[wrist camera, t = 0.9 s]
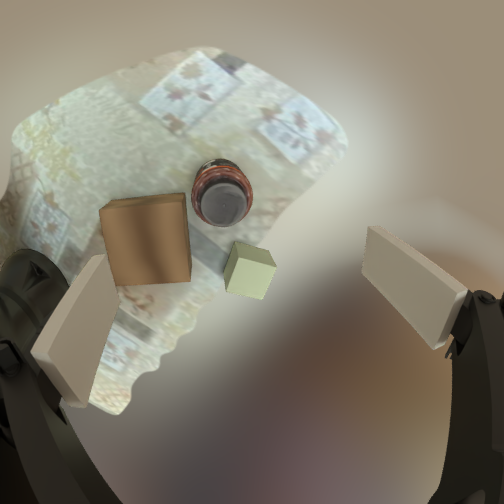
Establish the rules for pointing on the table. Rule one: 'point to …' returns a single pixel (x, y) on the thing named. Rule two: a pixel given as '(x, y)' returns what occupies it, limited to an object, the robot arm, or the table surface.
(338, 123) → the table surface
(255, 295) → the sage block
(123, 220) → the walnut block
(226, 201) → the supplement bottle
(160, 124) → the table surface
